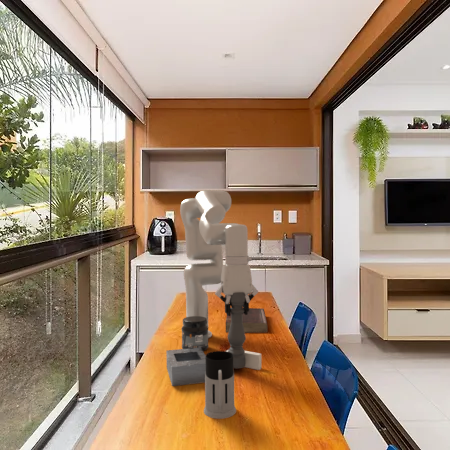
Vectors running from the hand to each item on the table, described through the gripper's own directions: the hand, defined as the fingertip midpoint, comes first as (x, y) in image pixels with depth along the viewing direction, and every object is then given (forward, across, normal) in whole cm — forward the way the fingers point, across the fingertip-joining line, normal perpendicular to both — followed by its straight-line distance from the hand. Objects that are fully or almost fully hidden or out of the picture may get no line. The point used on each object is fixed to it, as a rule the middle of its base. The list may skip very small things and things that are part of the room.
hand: (236, 313), depth 139 cm
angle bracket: (+19, 0, -3) cm, 20 cm away
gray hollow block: (+19, +17, -1) cm, 26 cm away
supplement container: (+20, +10, -26) cm, 34 cm away
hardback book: (+20, -20, -56) cm, 63 cm away
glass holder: (+19, +13, +29) cm, 37 cm away
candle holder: (+18, 0, 0) cm, 18 cm away
